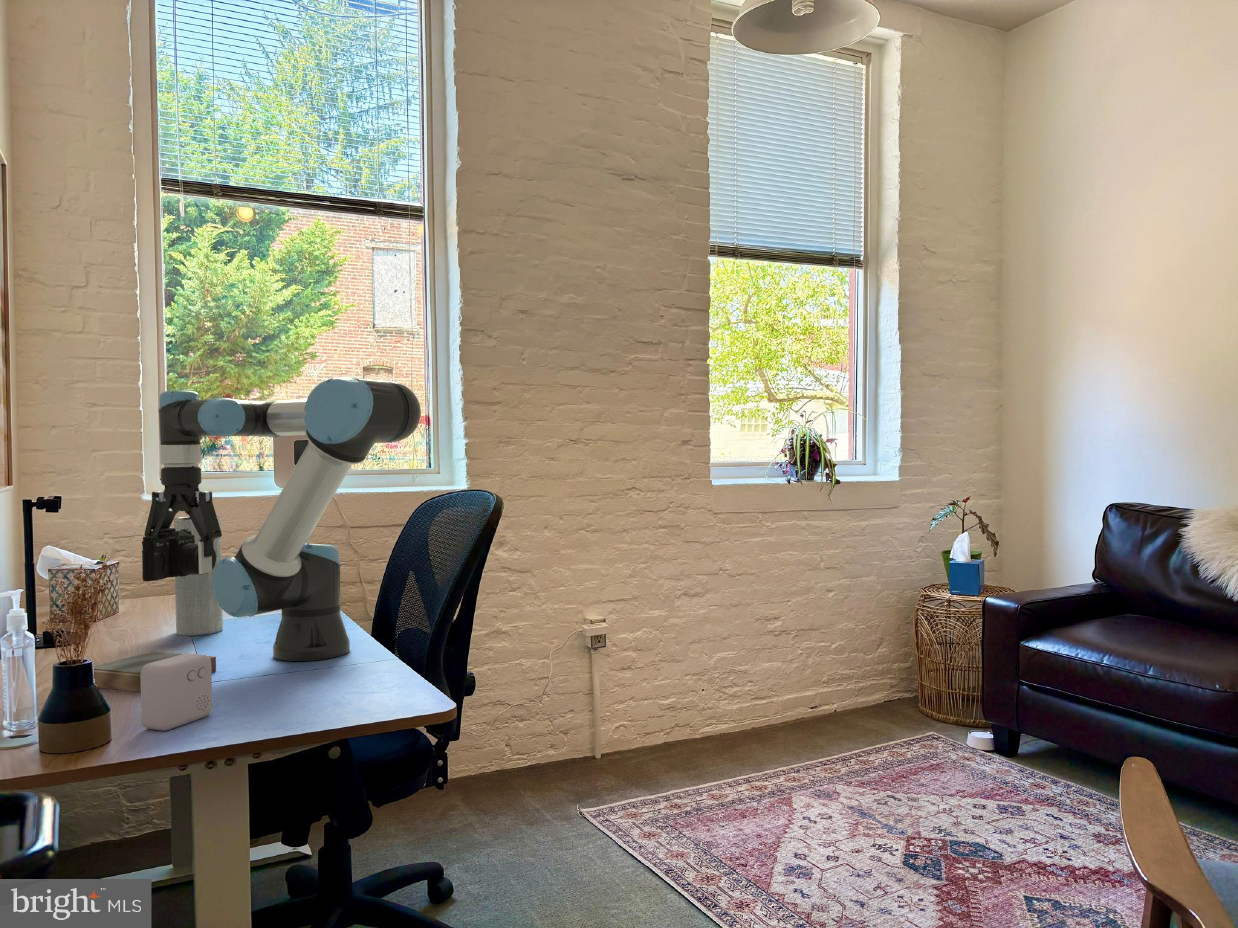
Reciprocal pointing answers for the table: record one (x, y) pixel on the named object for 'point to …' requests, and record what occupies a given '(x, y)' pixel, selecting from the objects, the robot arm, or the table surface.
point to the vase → (197, 594)
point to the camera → (170, 555)
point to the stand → (131, 670)
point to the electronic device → (175, 691)
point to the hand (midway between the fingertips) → (183, 572)
